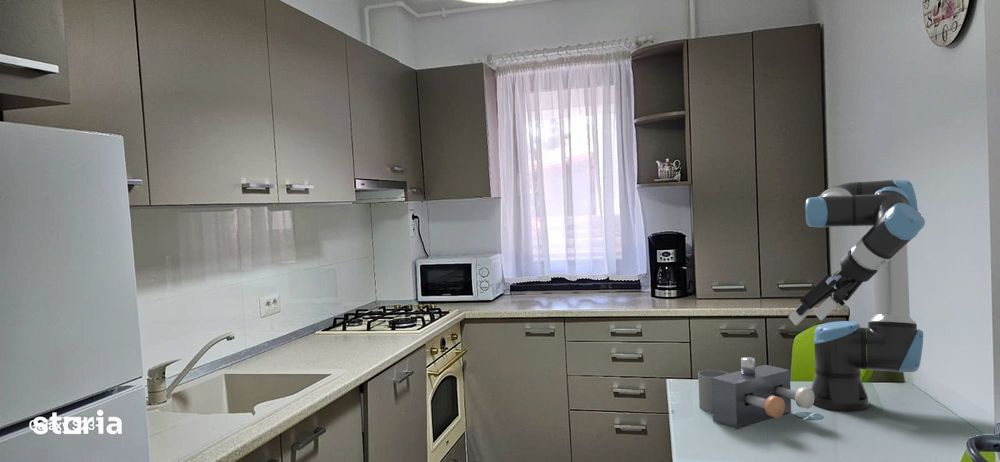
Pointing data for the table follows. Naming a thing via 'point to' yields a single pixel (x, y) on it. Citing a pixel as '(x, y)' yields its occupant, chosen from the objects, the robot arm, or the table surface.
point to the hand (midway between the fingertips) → (805, 318)
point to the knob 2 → (797, 396)
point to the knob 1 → (768, 404)
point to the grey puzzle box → (735, 387)
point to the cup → (707, 388)
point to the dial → (748, 365)
